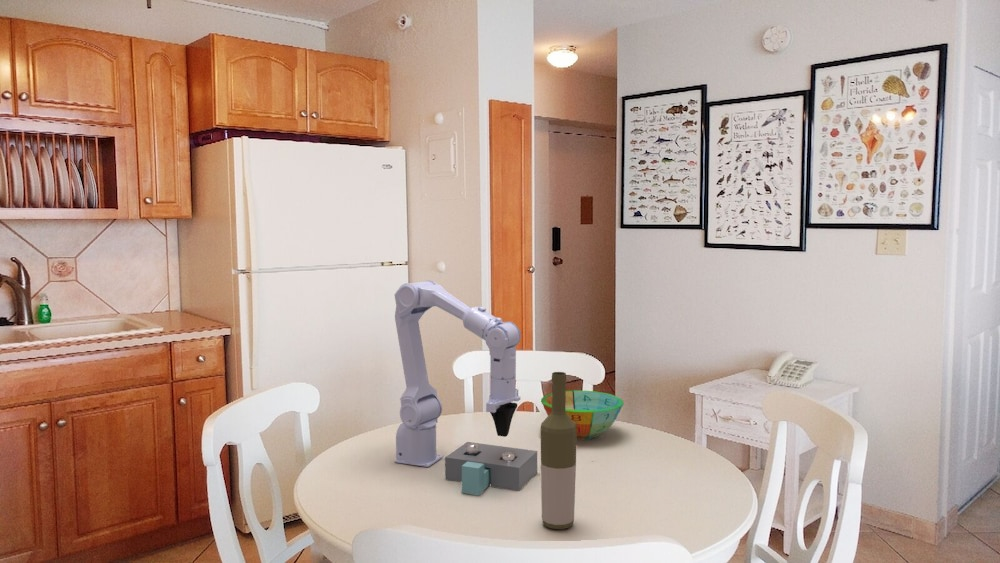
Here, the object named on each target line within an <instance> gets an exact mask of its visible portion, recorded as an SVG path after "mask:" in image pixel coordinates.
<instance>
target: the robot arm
mask: <svg viewBox="0 0 1000 563" xmlns="http://www.w3.org/2000/svg"><path fill="white" fill-rule="evenodd" d="M394 300H395V311H394V312H395V313H394V321H395V327H396V333H397V339H398V345H399V350H400V357H401V361H402V362H401V363H402V369H403V374H404V381H405V386H406V388H405V389H404V392H403V393H402V395H401V396H400V398H399V400H400V409H399V417H400V420H401V422H402V423H401V424H400V425H399V426H398V428H397V430H396V433H395V454H396V455H395V457H396V458H395V460H394V463H398V464H404V465H412V466H419V467H425V468H429V467H431V466H432V465H434V464H435V463H437V462H438V461H440V460H441V459H442V458H444V455H443V454H437V424H438V418H440V416H441V415H442V413H443V404H442V402H441V399H439V397H438V394H437V389H436V388H435V387H433V386H432V384H430V383H429V376H428V371H427V364H426V359H425V358H426V357H425V353H424V352H425V351H424V347H423V342H422V335H421V330H420V328H421V327H420V322H419V321H420V320H421V318H422V317H423V315H424V314H425V313H426V312H427V311H428V310H430V309H431V308H432V307H437V308H438V309H441V310H443V311H445V312H446V313H449V314H450V315H452V316H454V317H455V318H457V319H459V320H461V321H462V324H463V327H464V328H465V329H466V330H467V331H470V332H471V333H472V334H474V335H476V336H478V337H479V338H480V339H482V340H484V341H485V344H486V346H487V348H488V350H489V356H490V357H489V358H490V362H489V363H490V364H489V366H490V369H489V370H490V374H489V375H490V376H489V378H490V380H489V382H490V383H489V385H490V389H489V390H490V392H489V396H488V401H487V402H486V405H485V406H486V407H485V409H486V413H490V415H491V417H492V419H493V422H494V427H495V430H496V434H497V436H498V437H508V436H509V433H510V428H511V424H512V419H513V417H514V414H515V412H516V410H517V408H518V403H516V402H519V401H520V400H521V396H520V395H519V388H516V382H517V380H516V378H517V376H516V375H517V374H516V373H517V372H516V371H517V365H516V364H517V362H516V361H517V347H516V346H518V344H519V343H520V341H521V338H522V336H521V335H522V334H521V331H520V329H519V327H518V326H517V325H516V324H515V323H514V322H513V321H503V319H502V318H501V317H499V316H498V317H496V316H495V315H492V314H491V313H489V312H488V311H487V308H486V307H485V306H474V307H473V306H472V307H470V306H469V305H468V304H466V303H464V302H462V301H461V300H459V299H458V298H457V297H455V296H454V295H453V294H451V293H450V292H448V291H447V290H445V289H444V287H443V285H441V284H439V283H437V282H435V281H434V280H424V281H419V282H412V283H410V282H407V283H403V284H401V285H400V286H399V287H398V289H397V290H396V291H395V293H394Z"/></svg>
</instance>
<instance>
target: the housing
mask: <svg viewBox="0 0 1000 563" xmlns="http://www.w3.org/2000/svg"><path fill="white" fill-rule="evenodd" d="M467 443H474V442H473V441H472V442H471V441H467V442H465V443H464V444H462V445H460V446H458V448H456V449H455V450H454V451H451V452H450V453H449V454H448V455H447V456H445V457H444V458H445V459H444V468H445V472H444V473H445V475H444V477H445V480H446V481H447V480H448V481H452V482H460V483H462V465H464V464H465V463H466V462H467V461H468V462H475V463H482V464H484V467H486V468H490V473H491V484H490V487H492V488H498V489H505V490H510V491H511V490H512V491H518V492H520V490H522V489H523V488H524V486H526V485H527V483H529V482H530V480H531V479H533V477H534V476H536V475H537V473H538V450H534V449H533V450H532V449H525V448H524V449H523V448H516V447H509V446H503V445H494V444H487V443H480V442H476V443H477V444H478V455H477V456H471V455H466V444H467ZM505 452H512V453H514V454H515V460H514V461H507V460H502V454H503V453H505Z"/></svg>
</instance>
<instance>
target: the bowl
mask: <svg viewBox="0 0 1000 563" xmlns="http://www.w3.org/2000/svg"><path fill="white" fill-rule="evenodd" d="M540 402H541V404H542V405H543V409H544V411H545V412H546V415H547V417H548V416H549V414H550V413H551V411H552V392H551V393H549V394H548V393H547V395H544V396H543V397H542V398H541V399H540ZM624 404H625V402H624V400H623V399H622V398H621V397H619V396H616V395H614V394H611V393H606V392H601V391H596V390H595V391H594V390H566V403H565V411H566V413H567V415H568V416H569V417H570V418H571V419H572V420H573V422H574V423H575V425H576V428H577V440H578V441H581V440H582V441H587V440H592V439H594V438H596V437H598V436H600V435H602V434H604V433H605V432H607V431H608V430H609V429H610V427H612V425H614V423H615V421H616V420H617V417H618V415H619V413H620V412H621V409H622V407H623V406H624Z"/></svg>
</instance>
